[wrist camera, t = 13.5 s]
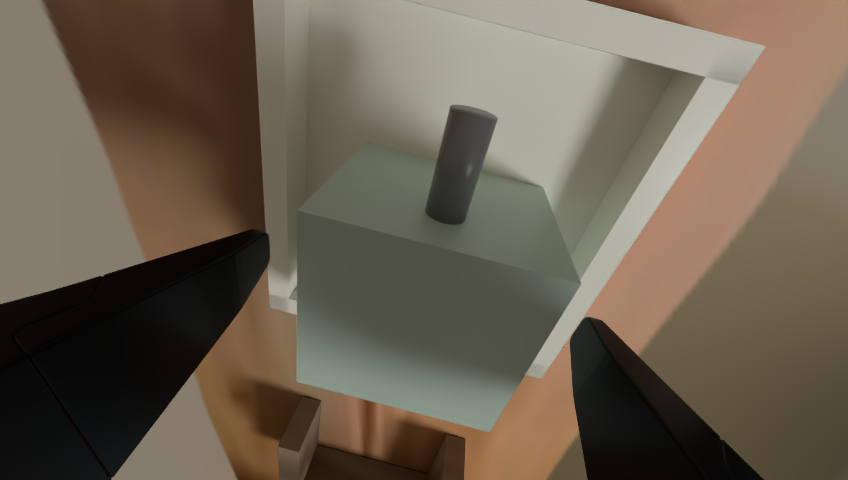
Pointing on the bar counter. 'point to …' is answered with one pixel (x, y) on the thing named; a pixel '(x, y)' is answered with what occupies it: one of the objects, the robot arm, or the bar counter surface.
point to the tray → (491, 110)
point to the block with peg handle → (428, 278)
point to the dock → (352, 455)
